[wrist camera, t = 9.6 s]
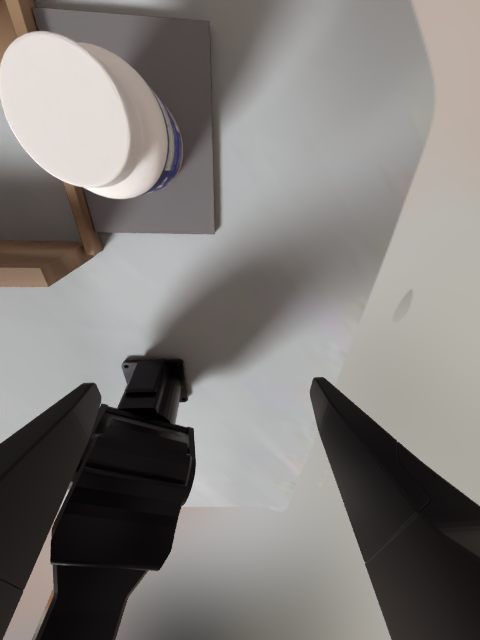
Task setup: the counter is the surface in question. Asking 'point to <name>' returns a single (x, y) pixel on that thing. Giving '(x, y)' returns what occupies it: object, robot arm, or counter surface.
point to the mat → (177, 95)
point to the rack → (63, 257)
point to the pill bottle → (88, 116)
